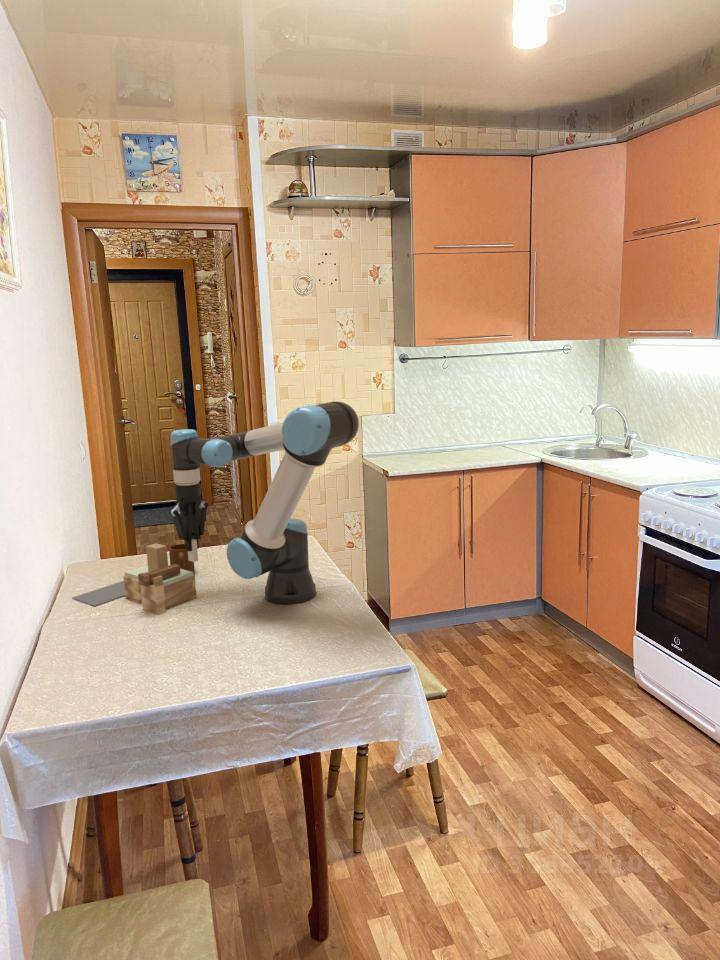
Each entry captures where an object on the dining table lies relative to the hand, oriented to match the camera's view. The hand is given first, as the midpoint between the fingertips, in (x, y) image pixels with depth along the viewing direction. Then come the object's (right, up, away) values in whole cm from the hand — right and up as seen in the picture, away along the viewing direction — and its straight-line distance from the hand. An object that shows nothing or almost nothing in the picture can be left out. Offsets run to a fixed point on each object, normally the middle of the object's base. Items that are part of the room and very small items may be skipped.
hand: (193, 560), depth 212 cm
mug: (-8, -8, +20) cm, 22 cm away
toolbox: (-10, -11, -2) cm, 15 cm away
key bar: (-7, -4, -9) cm, 12 cm away
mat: (-26, -11, +6) cm, 29 cm away
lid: (-10, -4, -2) cm, 11 cm away
